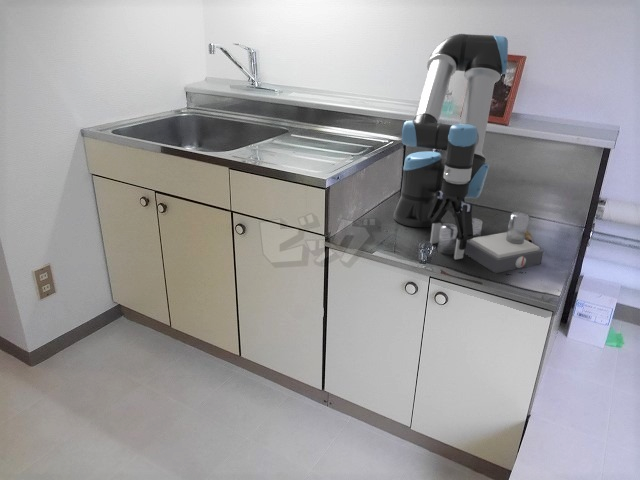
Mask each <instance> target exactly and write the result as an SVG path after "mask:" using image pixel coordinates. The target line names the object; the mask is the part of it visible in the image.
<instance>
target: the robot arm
mask: <svg viewBox="0 0 640 480" xmlns="http://www.w3.org/2000/svg"><path fill="white" fill-rule="evenodd" d="M508 48H509V41H508V39H507V37H506V36H504V35H503V36H501V35H496V34H491V35H489V34H487V35H486V34H470V33H469V34H466V33H457V34H453V35H451V36H449V37H447V38H446V39H443V41H441V42H440V43H439V44H438V45H437V46H436V47H435V48H434V50H432V52H431V53H430V55H429V58H428V62H427V65H426V68H427V71H428V72H427V74H426V77H425V80H424V84H423V87H422V90H421V94H420V96H419V100H418V104H417V107H416V110H415V113H414V116H413V118H412V119H410V120H405V122H404V123H403V126H402V129H401V143H402V144H403V146H408V147H412V148H424V149H431V150H432V149H434V150H439V151H446V154H445V158H442V157H443V156H442V154H441V152H437V151H417V152H413V153H410V154H408V155H407V156H406V157H405V159H404V164H403V167H402V170H403V172H402V182H401V191H400V197H399V200H398V202H397V204H396V208H395V209H394V211H393V219H394V221H396V222H397V223H399V224H401V225H403V226H408V227H412V228H429V227H430V240H429V244H431V245H433V244H438V242H439V235H440V227H441V224H442V219H443V217H444V216H445V215H446V213H448V211H449V212H450V213H451V215H452V217H453V219H454V221H455V225H456V226H457V230H458V231H457V235H458V237H457V238H456V244H455V251H454V253H453V259H454V260H460V259H461V260H462V259H464V255H465V254H464V249H465V248H466V243H467V240H468V239H473V226H472V218H473V215H472V211H473V204H472V203H466V199H477V198H478V197H480V195H481V193H482V192H483V187H484V185H485V183H486V179H487V177H488V176H487V175H488V171H489V167H490V164H488V163H486V156H485V155H484V154H483V149H484V142H485V137H486V133H487V132H486V131H487V127H488V121H489V115H490V111H491V106H492V105H491V104H492V99H493V93H494V88H495V83H497V82H499V81H500V79H501V76H502V75H505V74H506V73H507V67H508V55H509V54H508V53H509V52H508V51H509V49H508ZM458 71H459V72H464V74H463V76H464V78H465V79H466V81H467V83H466V87H465V88H466V89H465V93H464V100H463V105H462V110H461V116H460V121H459V123H456V124H449V123H448V124H447V123H439V121H440V118H441V115H442V110H443V107H444V103H445V100H446V96H447V92H448V90H449V89H448V88H449V86H450V81H451V78H452V76H454V74H455V73H456V72H458Z"/></svg>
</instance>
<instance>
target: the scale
mask: <svg viewBox="0 0 640 480" xmlns="http://www.w3.org/2000/svg"><path fill="white" fill-rule="evenodd" d="M506 236H507V231H505V232H499V233H494V234H488V235H482V236H481V235H480V237H475V238H473V239H470V240H467V243H466V248H465V249H464V253H465V254H464V255H465V256H467V255H468V256H467V257H469V258H470V257H471V258H470V259H472V260H474V261H475V262H476V263H478V264H479V265H482V266H483V267H485V268H486V269H488V270H489V271H491V272H492V273H495V274H498V273H502V272H507V271H513V270H517V269H522V268H525V267H533V266H536V265H541V264H542V260H543V256H544V252H545V251H544V250H543V249H541V248H540V246H538V245H536V244H534V243H530V242H529V241H527V240H525V239H524V243H523V244H513V243H510V242H508V241H506Z"/></svg>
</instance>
